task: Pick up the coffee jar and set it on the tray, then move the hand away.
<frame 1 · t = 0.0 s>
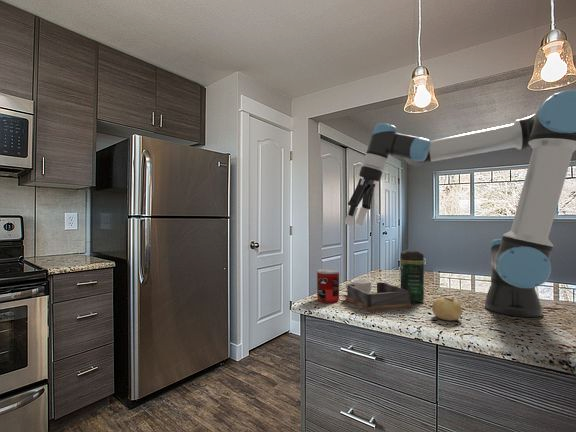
hand: (353, 224, 112), 28 cm above the worktop, tool tilted 20°, fingers open, 13 cm apart
canned food: (328, 301, 113), on the worktop
teacup: (358, 295, 121), on the worktop
onion: (446, 319, 92), on the worktop
tray: (376, 303, 108), on the worktop
coffee jar: (412, 300, 113), on the worktop
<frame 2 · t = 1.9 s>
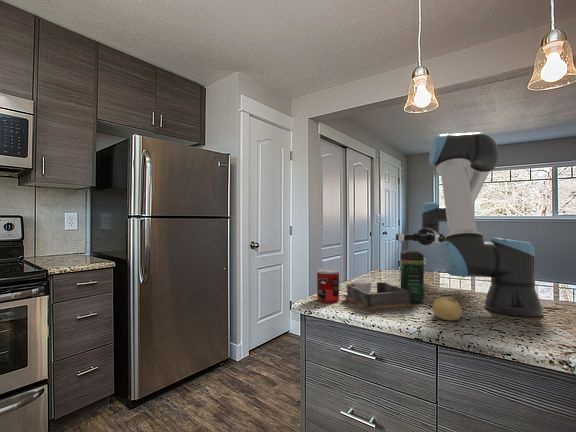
hand: (417, 239, 121), 22 cm above the worktop, tool horizontal, fingers open, 13 cm apart
nothing on the worktop moved.
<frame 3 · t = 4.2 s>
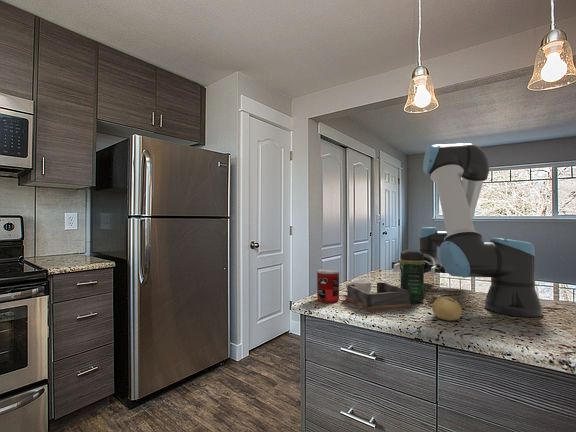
hand: (412, 269, 117), 10 cm above the worktop, tool horizontal, fingers open, 13 cm apart
nothing on the worktop moved.
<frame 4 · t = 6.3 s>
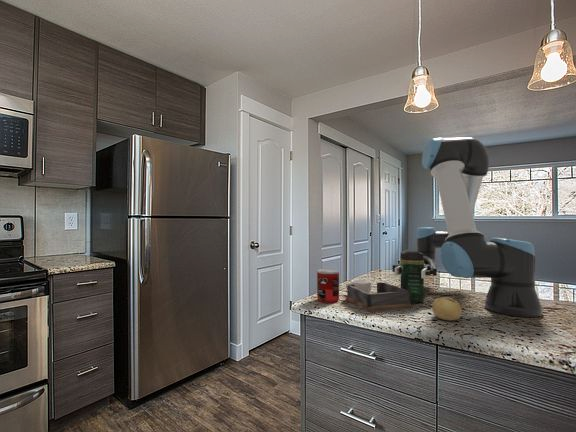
hand: (408, 273, 109), 11 cm above the worktop, tool horizontal, fingers closed on coffee jar, 8 cm apart
coffee jar: (412, 300, 113), on the worktop, touching gripper
everything else where it was.
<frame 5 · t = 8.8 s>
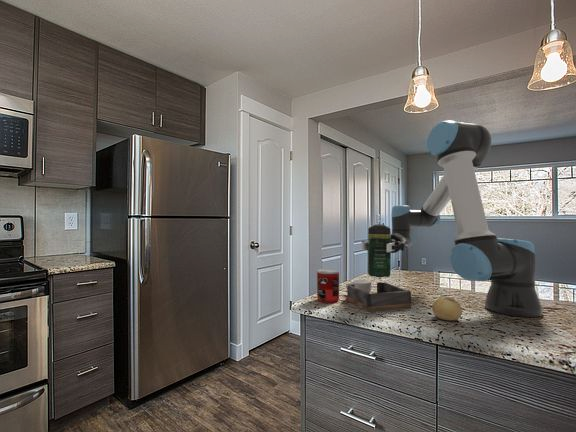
hand: (374, 247, 106), 20 cm above the worktop, tool horizontal, fingers closed on coffee jar, 8 cm apart
coffee jar: (379, 276, 110), point 9 cm above the worktop, touching gripper
everything else where it was.
when the fingers open (13 cm above the worktop, at t = 11.4 s): coffee jar drops 1 cm, resting on tray.
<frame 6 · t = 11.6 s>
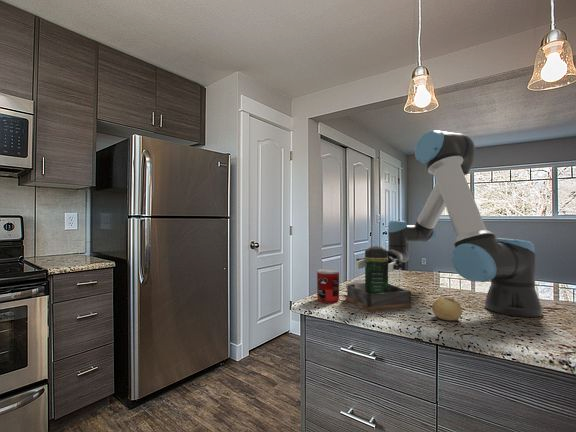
hand: (372, 266, 105), 13 cm above the worktop, tool horizontal, fingers open, 10 cm apart
coffee jar: (376, 299, 109), point 1 cm above the worktop, touching tray
everything else where it was.
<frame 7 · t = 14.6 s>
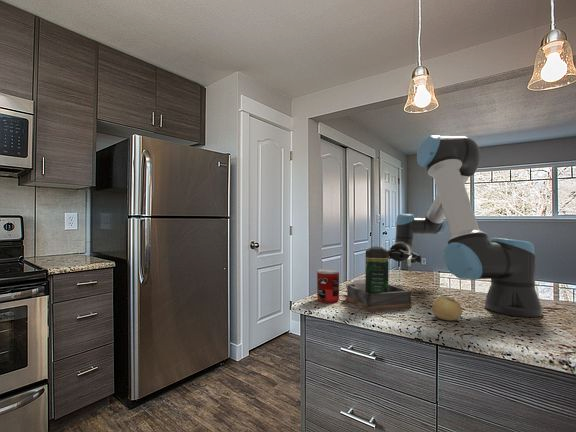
hand: (389, 261, 116), 14 cm above the worktop, tool horizontal, fingers open, 13 cm apart
nothing on the worktop moved.
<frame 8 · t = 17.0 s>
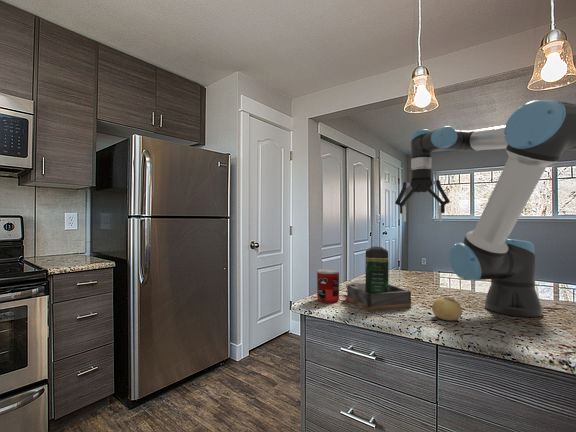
hand: (421, 221, 124), 29 cm above the worktop, tool pointing down, fingers open, 13 cm apart
nothing on the worktop moved.
at the end: coffee jar inside the target area on the tray (0.1 cm from its centre), point 1.3 cm above the tray's base; coffee jar tilted 0°; the gripper is holding nothing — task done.
